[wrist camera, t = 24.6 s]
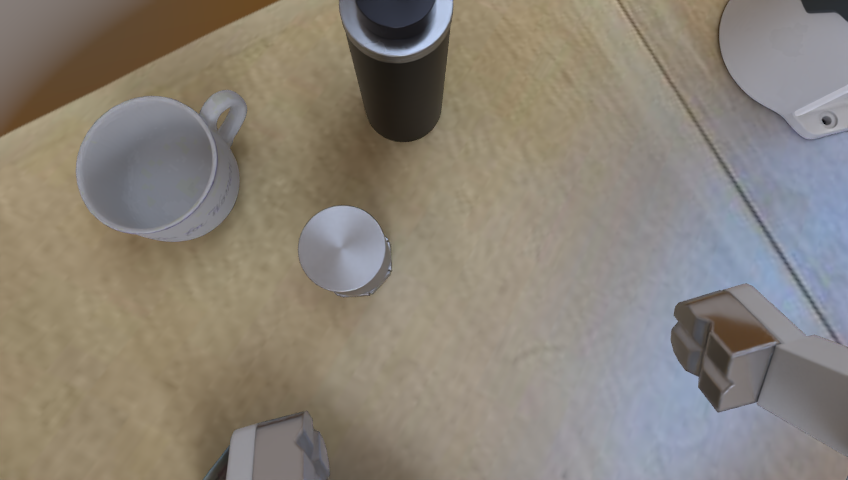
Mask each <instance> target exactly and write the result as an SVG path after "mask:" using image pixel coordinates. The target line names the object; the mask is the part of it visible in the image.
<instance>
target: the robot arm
mask: <svg viewBox="0 0 848 480" xmlns="http://www.w3.org/2000/svg"><path fill="white" fill-rule="evenodd" d="M719 43H720V49H721V54H722V57H723V60H724V63H725V65H726V67H727V69H728V71H729V73H730V74H731V76H732V78H733V79H734V80H735V82H736V83H737V84H738V85H739V87H740V88H741V89H742V90H743V91H744V92H745V93H747V94H748V95H749V96H750V97H751V98H753V99H754V100H755V101H757V102H758V103H760V104H762V105H764V106H765V107H767V108H769V109H771V110H773V111H775V112H776V113H778V114H779V115H781V116H782V117H783V118H784V119H785V120H786V121H787V123H788V124H789V125H790V126H791V127H792V128H793V129H794V130H795V131H796V132H797V133H798V134H799V135H800V136H802V137H803V138H806V139H816V138H820V137H824V136H828V135H832V134H836V133H840V132H843V131H847V130H848V0H730V1H729V2H728V4H727V6H726V8H725V10H724V12H723V15H722V18H721V22H720V29H719ZM822 119H823V120H824V121H825V124H824V123H823V122H822ZM674 316H675V318H676V319H677V320H678V323H677V324H676V325H675V326H674V327H673V328H672V331H671V343H672V347H673V351H674V353H675V355H676V357H677V359H678V361H679V362H680V364H681V365H682V366H683V368H684V369H685V370H686V371H688V372H690V373H692V374H694V375H696V376H698V377H699V381H698V388H699V389H700V390H701V391H702V393H703V394H704V395H705V397H706V398H707V399H708V400H709V402H710V403H711V404H712V406H713V407H714V408H715V409H716V411H717V412H722V411H726V410H729V409H733V408H737V407H741V406H744V405H748V404H752V403H755V402H757V405H759V406H760V407H762V408H764V409H766V410H767V411H769V412H771V413H772V414H774V415H776V416H778V417H779V418H781V419H783V420H784V421H786V422H788V423H790V424H791V425H793V426H795V427H797V428H798V429H800V430H802V431H803V432H805V433H807V434H809V435H810V436H812V437H814V438H815V439H817V440H819V441H821V442H822V443H824V444H826V445H827V446H829V447H831V448H833V449H834V450H836V451H838V452H840V453H841V454H843V455H845V456H846V457H848V347H846V346H844V345H841V344H838V343H835V342H833V341H830V340H827V339H825V338H822V337H819V336H817V335H810V336H806V335H805V334H804V333H803V332H802V331H801V330H800V329H799V328H798V327H797V326H796V325H794V324H793V323H792V322H791V321H790V320H789V319H788V318H787V317H786V316H785V315H784V314H782V313H781V312H780V311H779V310H778V309H777V308H776V307H775V306H774V305H773V304H772V303H771V302H769V301H768V300H767V299H766V298H765V297H764V296H763V295H762V294H761V293H760V292H759V291H757V290H756V289H755V288H754V287H753V286H751V285H749V284H741V285H738V286H735V287H731V288H728V289H725V290H722V291H721V290H719V291H716V292H712V293H709V294H706V295H702V296H699V297H696V298H693V299H689V300H686V301H683V302H679V303H678V304H677V305H676V307H675V310H674ZM329 476H330V470H329V460H328V454H327V449H326V446H325V443H324V440H323V437H322V435H321V434H320V432H319V431H317V430H314V429H313V419H312V417H311V416H310V414H309V412H308V411H303V412H300V413H296V414H292V415H288V416H284V417H280V418H276V419H273V420H269V421H265V422H261V423H257V424H253V425H250V426H246V427H243V428H239V429H236V430H234V432H233V434H232V437H231V440H230V449H229V458H228V467H227V475H226V480H327V479H328V477H329ZM846 480H848V476H847V478H846Z"/></svg>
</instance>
